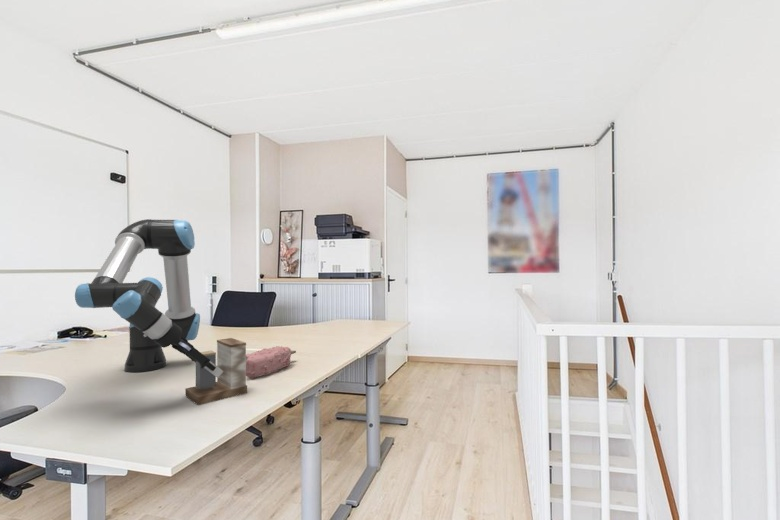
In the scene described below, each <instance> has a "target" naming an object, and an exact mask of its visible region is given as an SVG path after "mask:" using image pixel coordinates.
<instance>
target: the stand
mask: <svg viewBox="0 0 780 520" xmlns="http://www.w3.org/2000/svg"><path fill="white" fill-rule="evenodd" d="M246 347H247V342H245V341H243V340H239V339H236V338H234V337H228V338H221V339H217V340H216V348H217V349H216V350H217V351H216V356H217V357H216V366H218V367H219V368H220V369H221V370H223V373H222V374H221V375H220V376H219V377H218V378H217V377H216V378H217V380H216V385H215V386H210V387H206V388H201V389H200V388H198V387H196V385H195V386H190V387H185V389H184V390H185V394H184V395H186V396H187V397H186V396H185V397H186V398H187V399H188V400H190V399H191V400H190V401H192V402H193V403H194V402H195V404H196V405H198V406H199V405H201V406H202V405H205V404H208V403H213V402H216V401H220V399H221V400H224V398H225V399H228V397H229V398H232V396H233V397H236V395H237V396H240V394H241V395H244V394H247V393H248V385H247V376H246V354H247V353H246V352H247V348H246Z"/></svg>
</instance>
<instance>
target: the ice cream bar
mask: <svg viewBox="0 0 780 520" xmlns="http://www.w3.org/2000/svg"><path fill="white" fill-rule="evenodd" d="M293 354H297V350H291V348H290V347H288V346H285V347H284V346H282V345H281V346H277V345H276V346H273V347H269V348H263V349H261V350H258V351H254V352H251V353H246V378H249V379H255V378H258V377H260V376H264V375H266V376H267V375H269V374H270V373H271V374H272V373H275V372H276V371H278V370H280V369H283V368H287V367H288V366H289V365H290V364H291V356H292V355H293Z"/></svg>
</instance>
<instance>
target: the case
mask: <svg viewBox="0 0 780 520" xmlns="http://www.w3.org/2000/svg"><path fill="white" fill-rule="evenodd" d="M199 352H200V353H202V354H203V355H204V356H205V357H207V358H208V359H210V361H211V362H212V363H214V364H215V365H216V366H217V357H216V356H217V351H216V352H215V351H213V350H206V351H199ZM201 367H202V365H201V364H199V363H198V362H197V361H196V363H195V386H196V387H198V388H200V389H201V388H206V387H210V386H215V385H216V382H217V380H216V378H217V377H215V376H214V375H213V374H212V373H210V372H209V371H208V370H206V369H205V368H203V369H202V368H201Z"/></svg>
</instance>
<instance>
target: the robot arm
mask: <svg viewBox="0 0 780 520" xmlns="http://www.w3.org/2000/svg"><path fill="white" fill-rule="evenodd" d="M114 244H115V245H114V247H113V248H112V250H111V251H110V253H109V255H108V256H107V258H106V259H105V261H104V262H103V264H102V266H101V267H100V269H99V271H98V272H97V274H96V275H95V277H94V279H93V280H92V282H90V283H89V282H87V283H81V284H79V285H77V287H76V288H75V291H74V299H75V303H76V305H77V306H78V307H80V308H85V309H86V308H87V309H90V308H91V309H98V308H99V309H101V308H103V309H104V308H112V310H113V311H114V312H115V313H116V315H117V314H118V315H119V317H120V318H121V319H123V320H125V321H127V322H128V323H129V327H128V330H129V352H128V355H127V357H126V360H125V364H124V371H125V372H128V373H141V372H142V373H144V372H150V371H155V370H159V369H163V368H164V367H167V359H166V356H165V353H164V348H169V346H171V348H172V349H175V351H178V352H179V353H180V354H183V355H184V356H186V357H187V358H188V359H190V361H192V362H194V363H195V364H196V361H197V362H198V363H199V364H201V365H202V367H201V368H202V369H203V368H205V369H206V370H208V371H209V372H210V373H212V374H213V375H214V376H215V377H216V378H218V377H219V376H220V375H221V374H222V373H223V370H221V369H220V368H219V367H218V366H217V364H216V365H215V364H214V363H212V362H211V361H210V359H208V358H207V357H205V356H204V355H203V354H202V353H200V352H201V351H200V350H198V349H197V348H195V347H194V345H193V344H191V343H190V342H189V341H194V340H196V339H197V337H198V335H199V328H200V323H201V322H200V321H201V315H200V313H196V309H195V308H194V307H193V306H192V304H191V303H192V302H191V289H190V278H189V277H190V275H189V265H188V256H190V255H189V254H191V251H192V250H193V249H195V245H196V244H195V233H194V230H193V227H192V225H191V223H190V222H189V221H187V220H182V219H181V220H179V219H152V218H151V219H150V218H149V219H141V220H137V221H135V222H132V224H129V225H128V226H126V227H125V228H124V229H122V230H121V231H120V232H119V233H118V234H117V236H116V237H115V240H114ZM147 249H148V250H149V249H151V250H152V249H153V250H154V249H155V250H157V252H158V256H161V258H163V268H164V277H165V285H166V286H165V287H166V289H165V290H166V298H167V307H168V309H167V310H166V311H165V313H163V312H162V311H160V310H159V309H158V308H157V307H156V305H157V303H158V302H159V299H160V298H161V296H162V292H163V288H164V287H163V284H162V283H161V281H159V280H158V279H157V278H154V277H150V276H148V277H143V278H142V279H140V280H139V281H138V282H124V281H125V279H126V277H127V275H128V273H129V272H130V269H131V267H132V266H133V264H134V262H135V260H136V258H137V256H138V254H141V253H142V252H144V250H147Z"/></svg>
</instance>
